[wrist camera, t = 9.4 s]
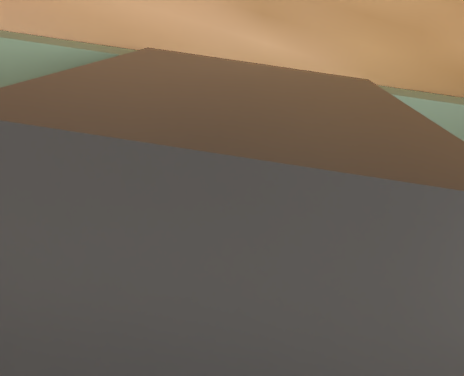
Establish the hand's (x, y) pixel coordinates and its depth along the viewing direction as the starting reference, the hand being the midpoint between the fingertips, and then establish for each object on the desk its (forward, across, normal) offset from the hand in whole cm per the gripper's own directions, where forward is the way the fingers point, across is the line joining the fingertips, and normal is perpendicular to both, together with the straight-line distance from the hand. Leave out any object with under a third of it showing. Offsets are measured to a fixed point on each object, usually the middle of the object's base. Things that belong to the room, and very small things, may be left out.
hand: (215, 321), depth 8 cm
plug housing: (+3, 0, 0) cm, 3 cm away
